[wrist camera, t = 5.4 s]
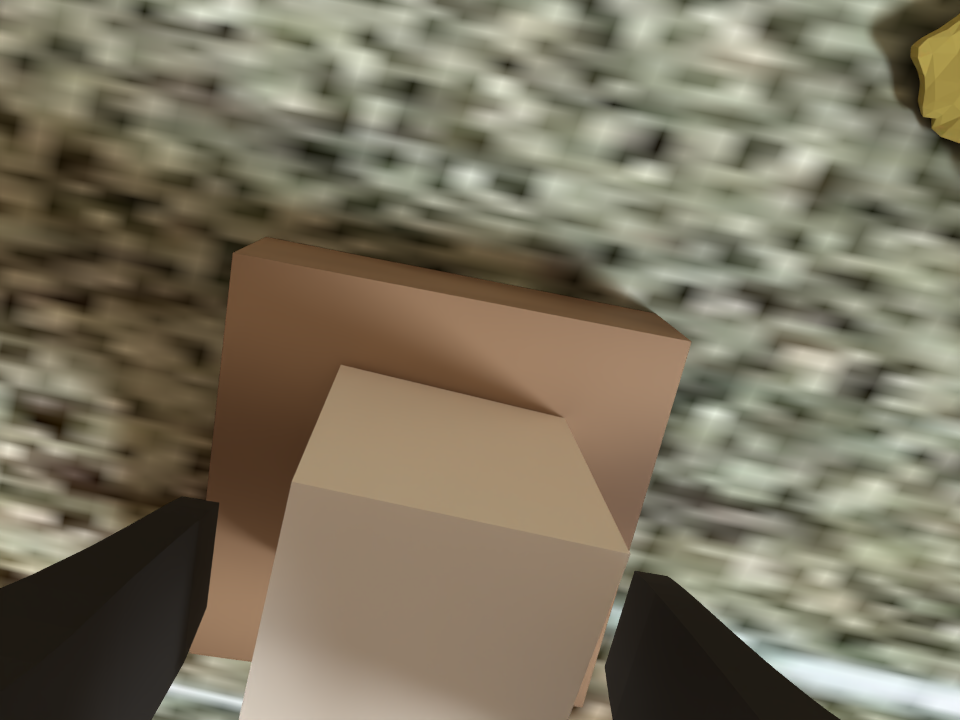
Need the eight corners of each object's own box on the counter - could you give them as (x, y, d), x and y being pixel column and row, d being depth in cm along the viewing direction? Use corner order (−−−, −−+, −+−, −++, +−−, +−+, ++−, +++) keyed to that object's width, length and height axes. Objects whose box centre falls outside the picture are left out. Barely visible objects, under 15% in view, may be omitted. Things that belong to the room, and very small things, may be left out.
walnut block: (562, 624, 19) (582, 707, 16) (229, 574, 18) (189, 653, 16) (649, 309, 17) (691, 341, 14) (271, 234, 16) (232, 252, 13)
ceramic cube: (502, 607, 16) (533, 811, 11) (294, 565, 15) (229, 763, 10) (564, 418, 14) (630, 554, 10) (340, 364, 14) (292, 481, 9)
